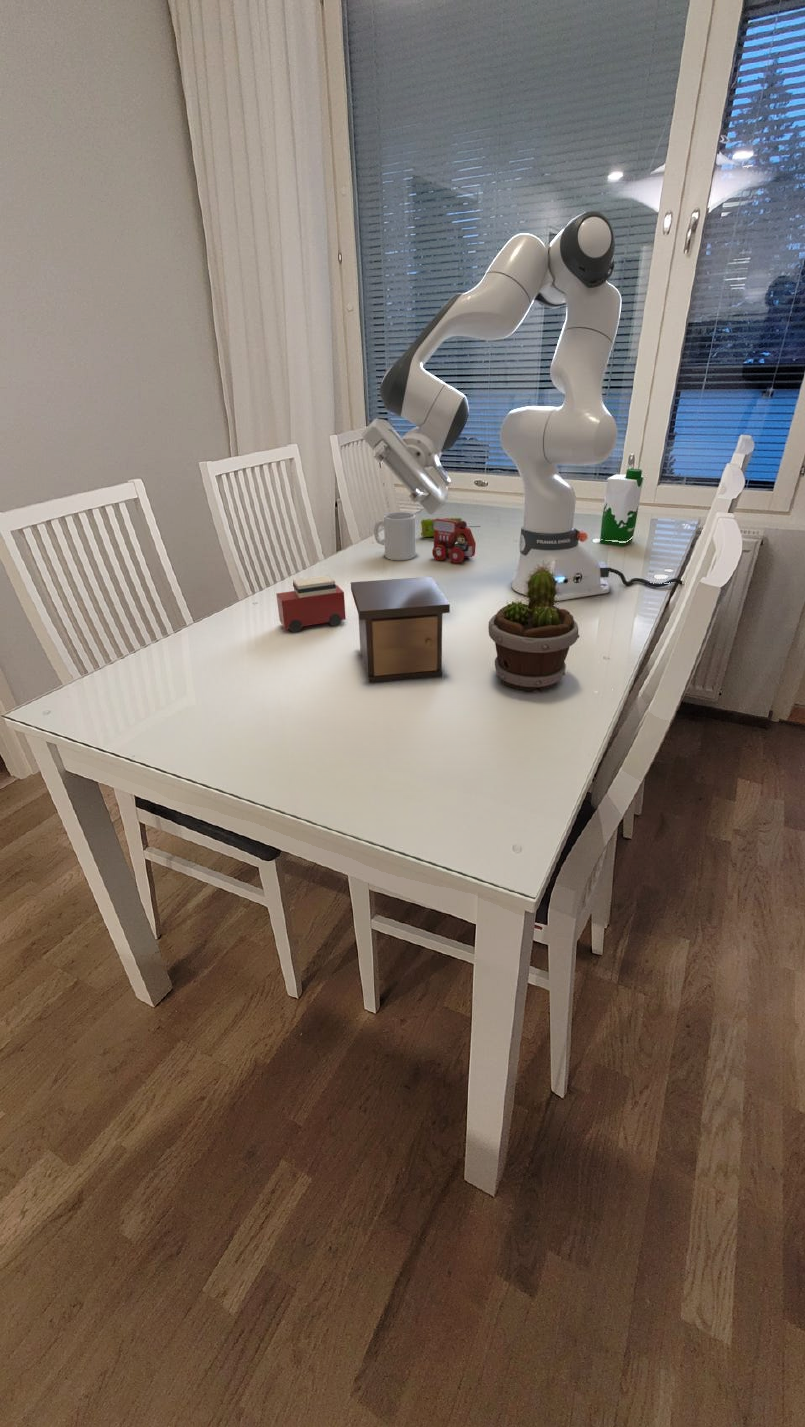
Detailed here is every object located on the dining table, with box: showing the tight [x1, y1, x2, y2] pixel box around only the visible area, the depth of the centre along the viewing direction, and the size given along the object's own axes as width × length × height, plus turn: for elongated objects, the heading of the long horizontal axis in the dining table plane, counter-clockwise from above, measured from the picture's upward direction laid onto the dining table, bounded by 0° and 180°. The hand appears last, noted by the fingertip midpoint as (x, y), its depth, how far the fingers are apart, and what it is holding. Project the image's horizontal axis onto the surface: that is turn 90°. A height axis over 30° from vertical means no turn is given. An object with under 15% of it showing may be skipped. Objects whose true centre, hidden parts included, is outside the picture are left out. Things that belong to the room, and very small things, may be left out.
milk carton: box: [599, 468, 645, 547], centre depth 181 cm, size 9×9×20 cm
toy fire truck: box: [431, 517, 477, 564], centre depth 172 cm, size 7×12×10 cm, turn 58°
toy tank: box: [420, 517, 480, 538], centre depth 193 cm, size 7×19×10 cm
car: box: [275, 574, 346, 633], centre depth 133 cm, size 13×5×10 cm, turn 112°
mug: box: [373, 511, 417, 561], centre depth 176 cm, size 12×8×11 cm
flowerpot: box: [488, 561, 580, 692], centre depth 107 cm, size 14×15×20 cm
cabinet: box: [350, 576, 451, 684], centre depth 114 cm, size 15×16×14 cm
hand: (396, 477), depth 118 cm, fingers open, 8 cm apart
